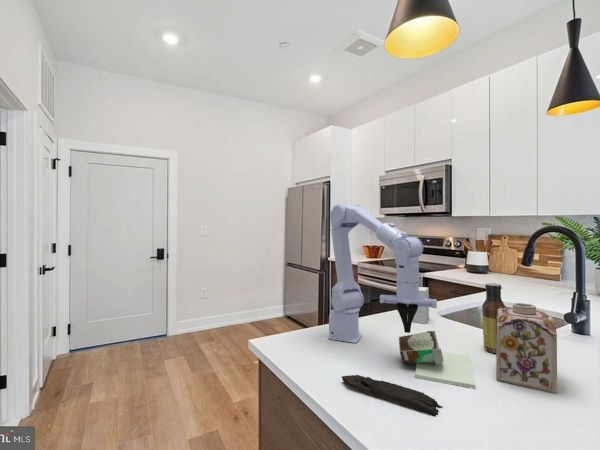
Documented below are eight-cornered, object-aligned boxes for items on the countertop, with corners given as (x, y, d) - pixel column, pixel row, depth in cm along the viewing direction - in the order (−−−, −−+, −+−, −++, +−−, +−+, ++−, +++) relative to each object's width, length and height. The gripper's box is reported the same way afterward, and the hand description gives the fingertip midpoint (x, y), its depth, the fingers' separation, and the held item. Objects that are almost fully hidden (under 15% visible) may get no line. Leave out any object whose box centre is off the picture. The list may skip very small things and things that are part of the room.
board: (415, 377, 79) (415, 374, 79) (419, 350, 95) (419, 348, 95) (475, 388, 73) (475, 385, 73) (468, 358, 90) (468, 355, 90)
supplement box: (429, 319, 126) (429, 287, 126) (425, 324, 120) (425, 290, 120) (410, 316, 130) (410, 285, 130) (405, 321, 124) (405, 288, 124)
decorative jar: (557, 395, 71) (558, 313, 71) (495, 381, 77) (496, 306, 77) (550, 373, 81) (550, 302, 81) (496, 363, 87) (496, 296, 87)
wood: (445, 402, 68) (445, 388, 68) (438, 420, 62) (438, 404, 62) (350, 375, 81) (350, 363, 81) (336, 388, 75) (336, 374, 75)
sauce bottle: (506, 349, 96) (506, 283, 96) (509, 356, 91) (510, 286, 91) (481, 345, 99) (481, 281, 99) (483, 352, 94) (483, 285, 93)
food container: (405, 377, 82) (447, 373, 79) (399, 354, 82) (441, 349, 79) (403, 355, 94) (439, 350, 91) (398, 334, 94) (434, 330, 91)
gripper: (377, 282, 86) (377, 332, 86) (436, 286, 80) (436, 340, 80) (382, 278, 93) (382, 324, 93) (436, 281, 87) (436, 331, 87)
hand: (407, 331), depth 87 cm, fingers closed
